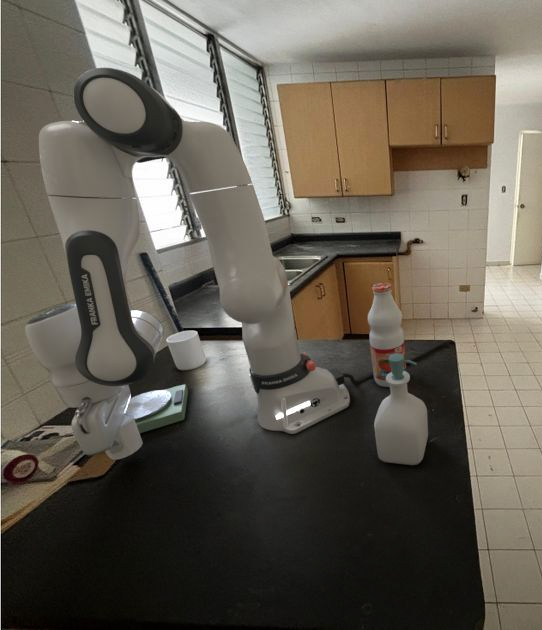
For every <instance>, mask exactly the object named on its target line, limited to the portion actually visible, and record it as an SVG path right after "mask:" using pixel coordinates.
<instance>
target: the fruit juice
mask: <svg viewBox="0 0 542 630" xmlns="http://www.w3.org/2000/svg"><path fill="white" fill-rule="evenodd" d="M392 291H393V286H392V284H391V283H388V282H380V283H375V284H373V285H372V293H373V299H372V305H371V308H370V309H369V311H368V313H367V323H368V326H369V329H370V330H369V335H368V337H369V338H368V339H369V348H370V356H371V365H372V372H373V374H374V376H373V379H374V382H375V384H377V386H380V387H383V388H390V384H388V383H387V382H386V376H387V375H388V374H389V373H391V372H392V371H391V367H390V363H389V356H390V355H392V354H402V355H403V356H404V360H407V359H406V346H405V344H406V343H405V333H404V330H403V328H402V322H403V315H402V314H403V313H402V311H401V310H400V308H399V307H398V305H397V304H396V302H395V299H394V297H393V295H392ZM403 371H405V372H407V373H408V371H407V364H406V363H405V362H404V364H403Z"/></svg>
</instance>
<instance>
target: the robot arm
mask: <svg viewBox="0 0 542 630" xmlns="http://www.w3.org/2000/svg"><path fill="white" fill-rule="evenodd" d="M73 102H74V106H75V109H76V111H77V114H78V115H79V117H80V119H82V120H81V121H75V120H59V121H54V122H50V123H48V124H46V125H44V126H43V127H42V128H41V130H40V131H39V133H38V152H39V163H40V169H41V175H42V180H43V184H44V188H45V193H46V194H47V198H48V202H49V205H50V208H51V212H52V214H53V218H54V220H55V224H56V227H57V229H58V232H59V235H60V239H61V242H62V247H63V251H64V253H65V257H66V262H67V264H68V265H67V266H68V272H69V277H70V282H71V287H72V291H73V296H74V301H75V303H67V304H62V305H58V306H55V307H53V308H50V309H47V310H44V311H43V312H40V313H38V314H37V315H35V316H33V317H32V318H31V319H30V320H29V321H27V323H26V324H25V326H24V331H25V337H26V339H27V342H28V343H29V346H30V348H31V350H32V352H33V354H34V355H35V358H36V360H37V361H38V363H39V364H40V366H41V367H42V368H44V369H45V370H46V371H47V372H48V373H49V375H50V380H51V384H52V386H53V388H54V389H55V391H56V393H57V394H58V396H59V398H60V399H61V401H62V403H63V404H64V405H65V407H67V408H71V409H72V408H73V409H74V408H76V410H75V412H74V416H73V418H72V419H71V430H72V433H73V435H74V437H75V440H76V441H77V443H78V445H79V448H80V449H81V451H82V453H83V454H84V455H86V456H94V455H98V454H101V453H103V452H104V453H105V451H106V450H110V451H111V453H112V454H115V453H118V452H121V451H122V450H123V445H122V443H121V441H119V440H118V439H117V432H118V429H119V427H120V424H121V422H122V419H123V416H124V414H125V413H126V412H125V411H126V409H127V406H128V403H129V401H130V398H132V395H131V394H132V392H131V388H130V385H133V384H135V383H138V382H140V381H142V380H143V379H145V378H146V377H148V375H149V374H150V373H151V372H152V370H153V368H154V365H155V360H156V355H157V353H158V351H159V348H160V345H161V342H162V340H163V338H164V326H163V324H162V322H161V321H160V320H159V318H158V317H156V316H155V315H153V314H152V313H150V312H148V311H145V310H140V309H132V308H131V304H130V303H131V302H130V298H129V293H128V287H127V283H126V273H127V266H128V263H129V262H128V261H129V259H130V257H131V255H132V252H133V251H134V248H135V246H136V245H137V243H138V240H139V238H140V236H141V215H140V214H141V213H140V207H139V201H138V198H137V197H138V196H137V192H136V188H135V184H134V180H133V179H134V178H133V170H134V166H135V164H136V163H138V164H139V163H141V164H142V163H147V162H151V161H156V160H162V159H168V160H169V161H170V162H171V163H172V164H173V165H174V166H175V167H176V169H177V171H178V172H179V174H180V176H181V178H182V181H183V183H184V186H185V188H186V191H187V193H188V195H189V198H190V201H191V203H192V206H193V208H194V210H195V213H196V215H197V217H198V220H199V222H200V225H201V227H202V230H203V233H204V235H205V239H206V241H207V245H208V249H209V254H210V258H211V264H212V267H213V271H214V275H215V278H216V282H217V286H218V291H219V301H220V305H221V308H222V310H223V312H224V313H225V314H226V315H227V316H228V317H229V318H231V319H232V320H234V321H236V322H238V323H241V333H242V334H241V335H242V343H243V346H244V350H245V354H246V357H247V360H248V364H249V378H250V381H251V384H252V385H251V386H252V388H253V390H254V392H255V393H256V399H257V418H256V420H257V423H258V425H259V427H261V428H263V429H264V430H267V431H273V432H284V433H287V434H289V435H295V434H298V433H299V432H302V431H303V430H305V429H308V428H310V427H311V426H313V425H315V424H318V423H319V422H322V421H324V420H325V419H328V418H329V417H331V416H333V415H335V414H337V413H339V412H341V411H343V410H345V409H347V408H348V407H350V403H351V396H350V395H351V394H350V392H349V389H348V388H347V387H346V385H345V384H346V381H345V378H347V379H348V378H349V379H350V382H351V383H352V384H356V385H357V384H360V383H362V382H364V381H367V380H369V379H371V378H372V377H374V374H373V371H372V372H371V373H369V374H368V375H366V376H364V377H363V378H361V379H355V378H354V376H353V374H351V373H342V372H341V371H340V370H339V369H338V368H337V367H334V368H331V369H329V370H328V369H327V368H323V367H319V366H317V365H316V363H315V362H314V361H313V360H311V357H310V356H309V355H307V353H306V352H305V351H303V352H302V353H301V352H300V347H299V343H298V342H299V341H298V338H297V337H298V336H297V332H296V328H295V319H294V313H293V306H292V305H293V304H292V298H291V293H290V287H289V281H288V274H287V270H286V268H285V267H284V266H285V265H283V263H282V262H281V260H279V259H278V258H277V256H276V257H275V256H274V255H273V250H272V247H271V241H270V238H269V237H270V236H269V232H268V227H267V223H266V220H265V217H264V214H263V211H262V207H261V205H260V202H259V200H258V196H257V193H256V190H255V187H254V184H253V182H252V178H251V175H250V173H249V170H248V167H247V166H246V163H245V161H244V159H243V156H242V154H241V152H240V151H239V149H238V146H237V145H236V142H235V141H234V139H233V137H232V135H231V134H230V133H229V131H227V130H226V129H225V128H224V127H223V126H221V125H219V124H216V123H213V122H210V121H203V120H201V121H189V120H185V119H184V118H181V116H180V114H179V113H178V112H177V110H176V109H175V108H174V106H172V105H171V104H170V102H169V101H168V100H167V98H166V97H164V96H163V95H162V94H161V93H160V92H159V91H157V90H156V89H155V88H154V87H152V86H151V85H149V84H148V83H147V82H145V81H144V80H143V79H141V78H139V77H138V76H136V75H134V74H132V73H130V72H128V71H124V70H121V69H118V68H112V67H95V68H92V69H89V70H87V71H85V72H84V73H82V74H81V75H80V76H79V77H78V78H77V80H76V81H75V83H74V87H73ZM445 341H450V342H445ZM453 342H454V343H453ZM450 343H451V344H453V345H454V344H456V342H455V341H454V339H446V340H444V341H442V342H441V343H438V344H435V345H434V346H433V347H430V348H429V349H427V350H425V351H424V352H422V353H420V354H418V355H416V356H413V357H412V358H409V359H408V360H410V361H413V362H415V361H417V360H419V359H421V358H423V357H425V356H427V355H429V354H430V353H432V352H434V351H435V350H437V349H439V348H441V347H443V346H445V345H446V344H450ZM408 364H409V363H406V365H408Z"/></svg>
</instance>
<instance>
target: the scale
mask: <svg viewBox="0 0 542 630" xmlns="http://www.w3.org/2000/svg"><path fill="white" fill-rule="evenodd" d="M163 390H164V391H168V392H169V393H170V394H171V396H172V398H171V401H170V402H169V403H168V405H167V406H165V407H164V408H163V409H161V410H160V411H158V412H157V413H155V414H153V415H151V416H148V417H146V418H143V419H140V420H137V421H135V422H136V425H137V428H138V431H139V434H141V433H142V434H143V433H146V432H149V431H152V430H155V429H158V428H161V427H166V426H168V425H172V424H175V423H177V422H180V421H184V420H185V418H186V410H187V405H188V397H189V396H188V395H189V389H188V386H187V384H186V383H184V384H183V383H182V384H180V385H176V386H173V387H169V388H165V389H163Z"/></svg>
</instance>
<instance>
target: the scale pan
mask: <svg viewBox="0 0 542 630" xmlns="http://www.w3.org/2000/svg"><path fill="white" fill-rule="evenodd" d="M164 390H165V389H159V390H151V391H146V392H143V393H140V394H137V395H134V396H133V397H132V396H131V398H130V401H129V403H128V406H127V409H126V411H125V412H126V413H131V414H133V417H134V419H135V421H137V420H140V419H143V418H146V417H148V416H151V415H153V414H155V413H157V412H158V411H160V410H161V409H163V408H164V407H165V406H167V405H168V403H169V402H170V401H171V398H172V396H171V394H170V393H169V392H168V391H164Z"/></svg>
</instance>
